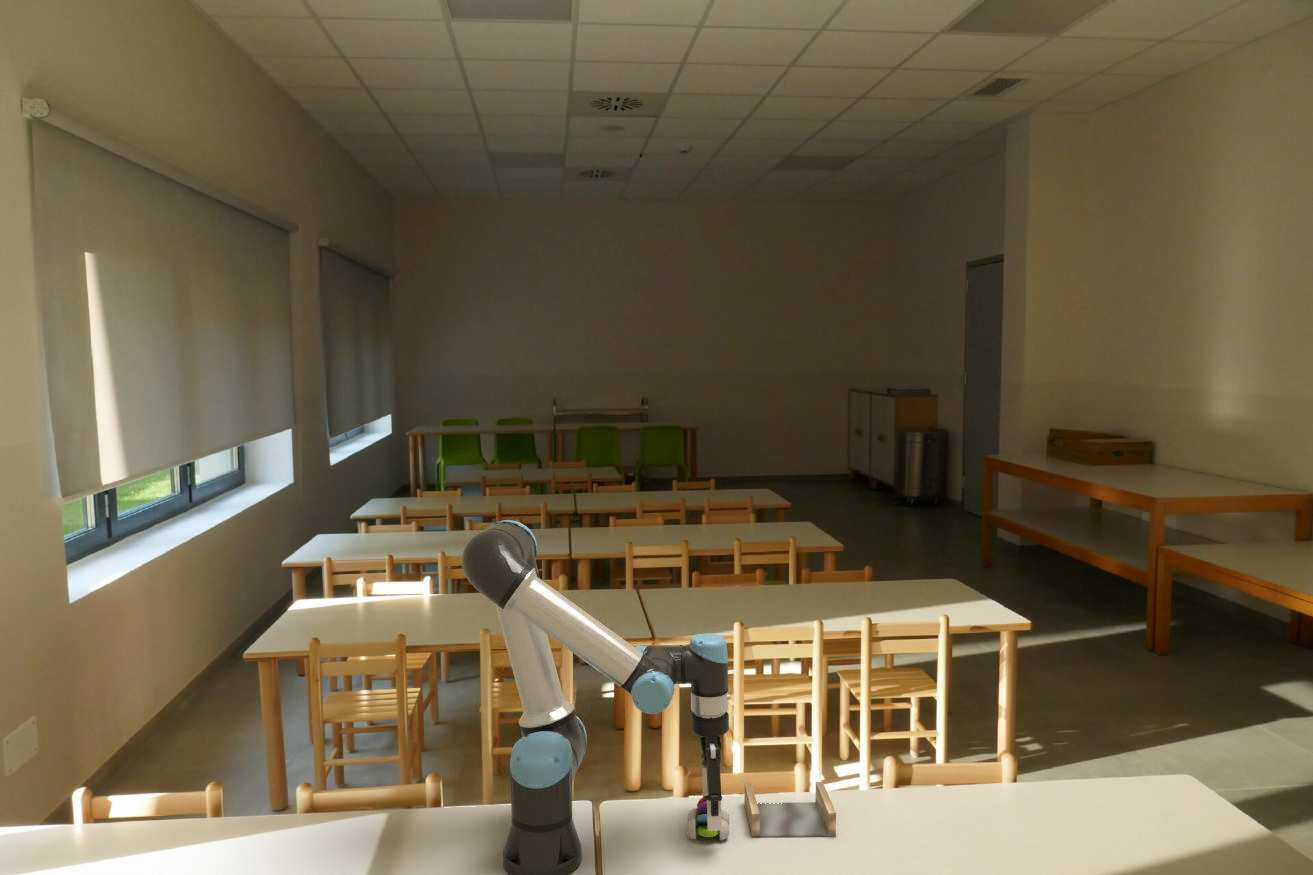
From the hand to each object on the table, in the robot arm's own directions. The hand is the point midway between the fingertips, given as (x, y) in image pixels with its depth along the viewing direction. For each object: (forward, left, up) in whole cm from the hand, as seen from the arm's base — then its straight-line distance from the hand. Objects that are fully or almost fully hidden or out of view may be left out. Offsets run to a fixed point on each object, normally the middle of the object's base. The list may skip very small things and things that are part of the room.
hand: (711, 812), depth 191 cm
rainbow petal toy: (-1, 0, -5) cm, 5 cm away
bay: (+17, +5, -4) cm, 18 cm away
